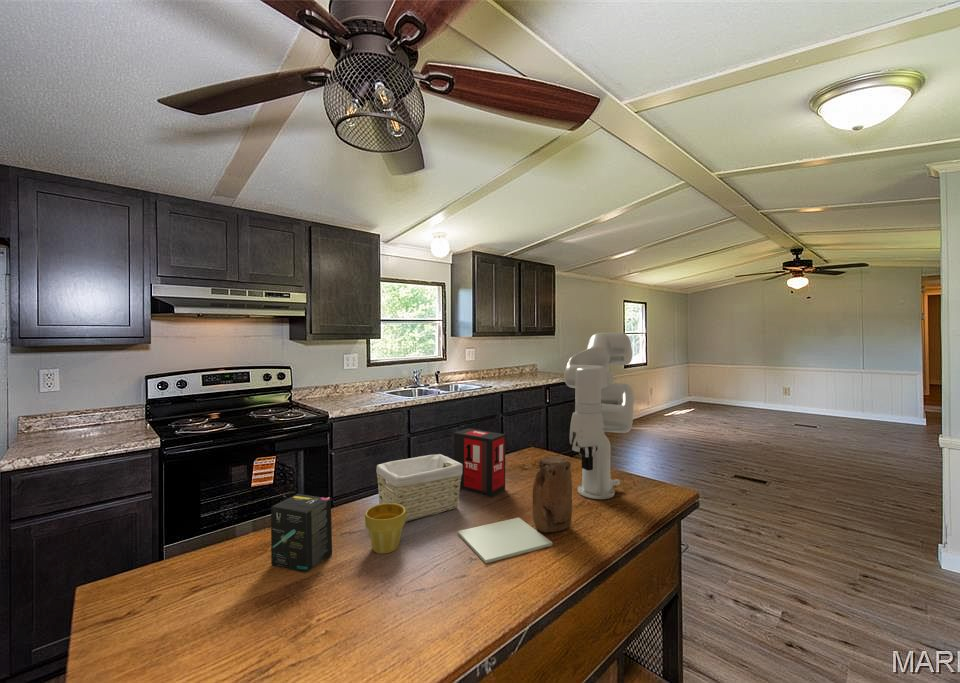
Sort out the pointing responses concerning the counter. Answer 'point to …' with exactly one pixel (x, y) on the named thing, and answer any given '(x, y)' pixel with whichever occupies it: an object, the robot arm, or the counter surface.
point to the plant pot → (385, 526)
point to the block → (552, 495)
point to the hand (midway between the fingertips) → (587, 468)
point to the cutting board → (503, 539)
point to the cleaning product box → (481, 461)
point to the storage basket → (420, 484)
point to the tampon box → (301, 532)
